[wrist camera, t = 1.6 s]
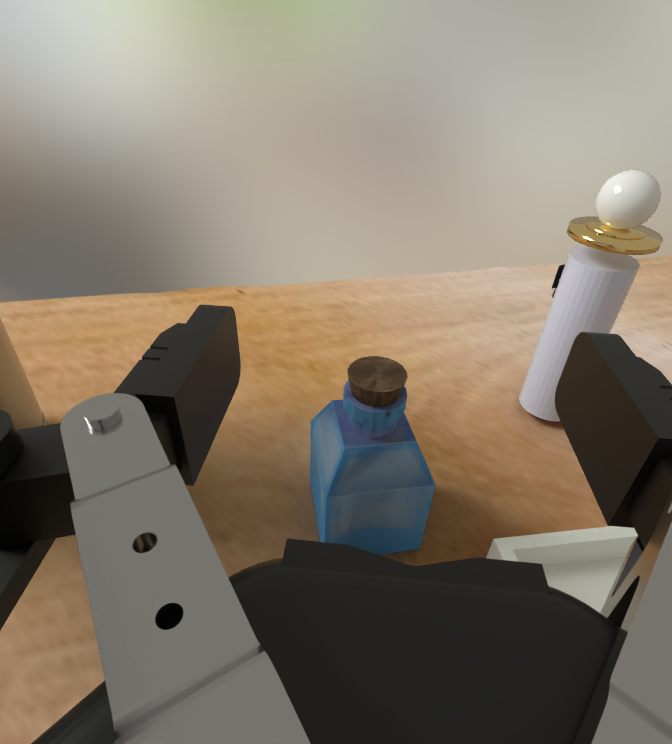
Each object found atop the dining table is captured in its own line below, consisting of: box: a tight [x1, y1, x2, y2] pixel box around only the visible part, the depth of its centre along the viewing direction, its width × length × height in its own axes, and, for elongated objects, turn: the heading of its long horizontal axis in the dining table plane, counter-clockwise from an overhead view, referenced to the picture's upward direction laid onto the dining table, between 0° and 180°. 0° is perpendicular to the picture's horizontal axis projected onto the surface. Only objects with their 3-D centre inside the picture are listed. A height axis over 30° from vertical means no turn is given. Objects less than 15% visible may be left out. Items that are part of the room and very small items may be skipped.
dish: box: [486, 526, 637, 613], centre depth 24 cm, size 13×13×3 cm
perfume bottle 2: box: [519, 170, 663, 421], centre depth 35 cm, size 6×6×20 cm
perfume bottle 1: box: [311, 356, 435, 555], centre depth 28 cm, size 6×6×12 cm
